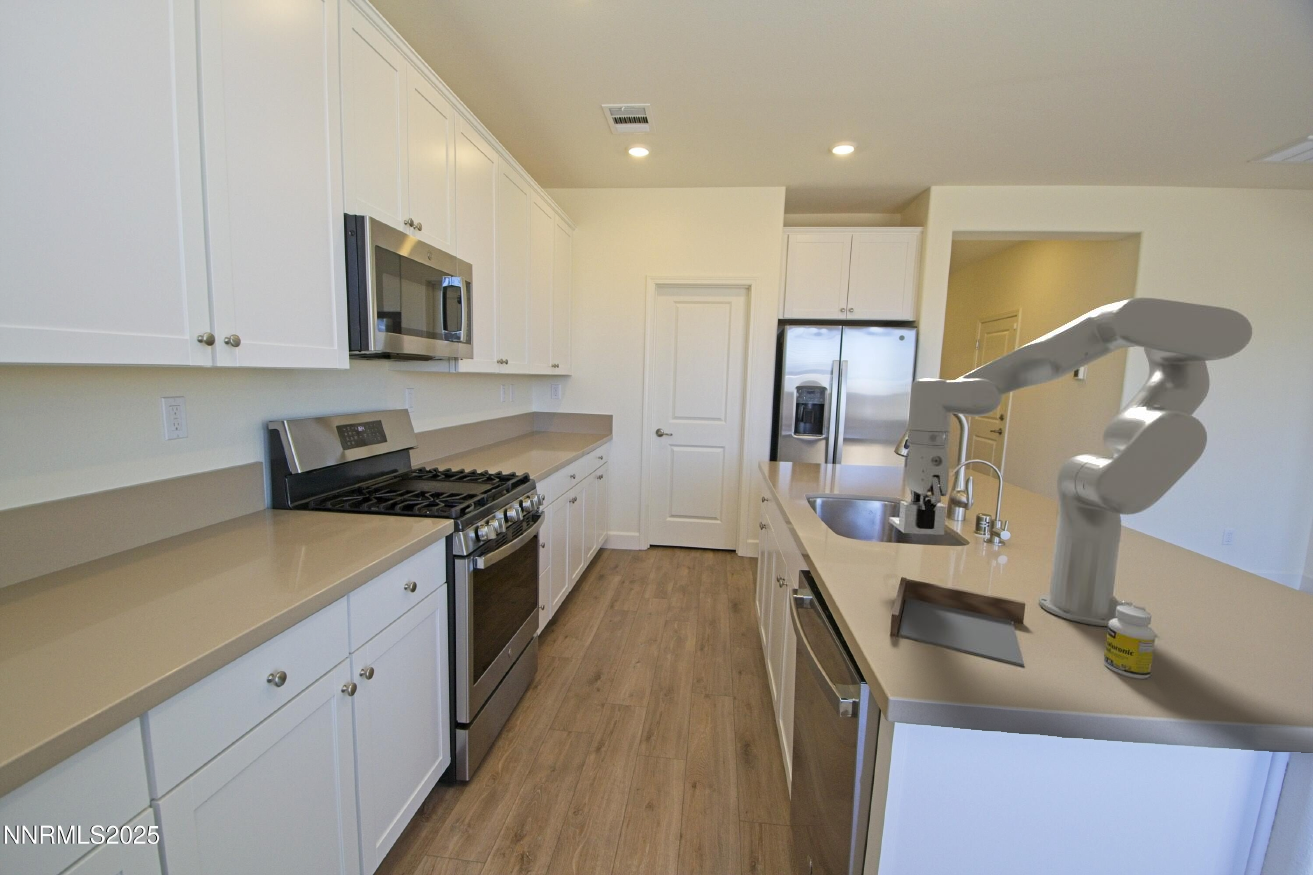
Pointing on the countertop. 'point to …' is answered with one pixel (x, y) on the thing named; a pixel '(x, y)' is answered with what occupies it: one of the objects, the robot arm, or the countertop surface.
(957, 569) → the countertop surface
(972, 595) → the walnut corner walls
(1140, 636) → the supplement bottle
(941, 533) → the aluminium bracket
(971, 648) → the slate mat
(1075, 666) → the countertop surface
